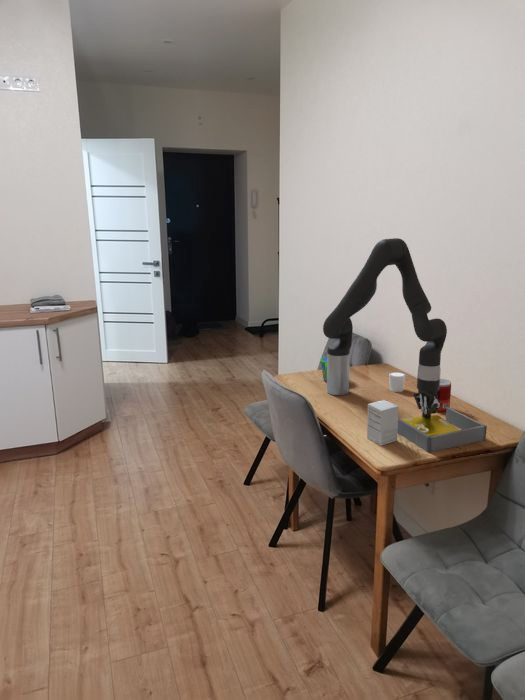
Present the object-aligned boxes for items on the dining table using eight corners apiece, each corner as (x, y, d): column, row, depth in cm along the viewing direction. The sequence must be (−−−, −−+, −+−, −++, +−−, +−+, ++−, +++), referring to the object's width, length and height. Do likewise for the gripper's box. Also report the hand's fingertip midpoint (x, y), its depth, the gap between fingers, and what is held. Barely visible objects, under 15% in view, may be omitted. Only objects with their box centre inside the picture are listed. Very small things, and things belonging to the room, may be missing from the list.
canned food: (450, 406, 203) (452, 379, 200) (448, 413, 196) (450, 386, 193) (430, 403, 206) (431, 377, 203) (427, 411, 199) (428, 383, 196)
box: (394, 430, 182) (395, 417, 181) (447, 420, 190) (448, 407, 188) (428, 452, 165) (429, 438, 164) (485, 439, 173) (486, 426, 172)
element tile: (460, 443, 172) (461, 430, 171) (417, 448, 170) (418, 434, 168) (437, 425, 186) (438, 413, 185) (398, 429, 184) (398, 417, 183)
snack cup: (335, 387, 228) (336, 365, 225) (313, 383, 233) (313, 362, 231) (349, 377, 241) (349, 356, 238) (328, 374, 246) (328, 353, 244)
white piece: (405, 392, 219) (406, 377, 217) (388, 392, 220) (389, 376, 218) (404, 387, 225) (405, 372, 223) (388, 386, 227) (388, 371, 225)
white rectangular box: (382, 433, 180) (384, 399, 177) (397, 441, 174) (399, 405, 171) (366, 438, 177) (367, 403, 174) (380, 446, 171) (381, 410, 167)
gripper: (407, 372, 184) (405, 417, 189) (432, 383, 172) (429, 431, 177) (425, 369, 187) (422, 414, 191) (450, 380, 175) (447, 427, 179)
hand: (426, 422), depth 184 cm, fingers closed
